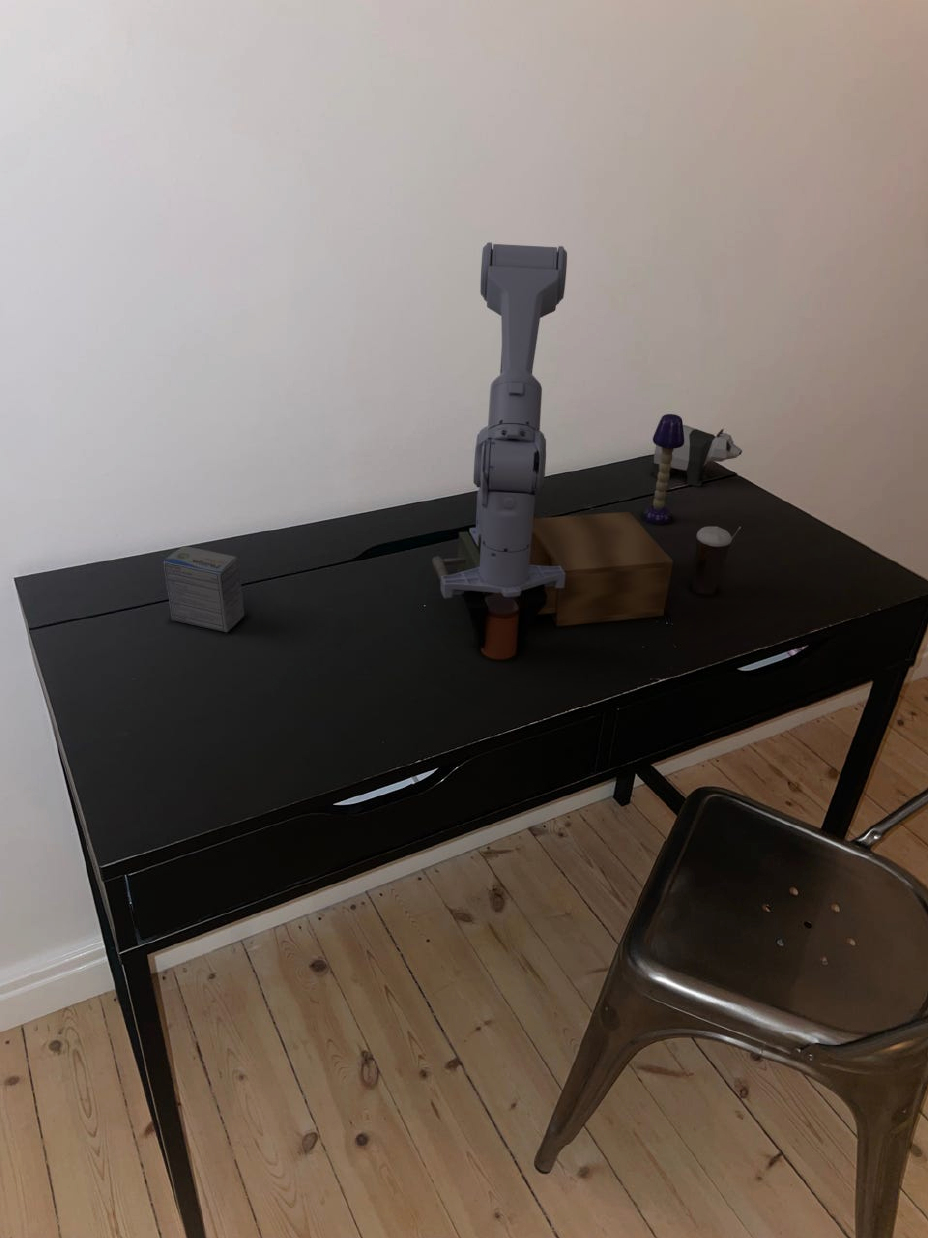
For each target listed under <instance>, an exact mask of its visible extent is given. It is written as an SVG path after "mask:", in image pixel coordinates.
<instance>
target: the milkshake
mask: <svg viewBox="0 0 928 1238" xmlns="http://www.w3.org/2000/svg"><path fill="white" fill-rule="evenodd" d="M741 528H742V525H741V526H740V525H739V527H738V528H737V530H736V531H735V533H734V534H732V535H731V534H730V533H729V532H728V531H727V530H726V529H723V528H721V527H720V526H716V525H715V526H704V527H701V528H700V529H699V530H698V531H697V533H696V537H695V549H694V551H695V552H694V560H693V561H694V562H693V569H692V580H691V589H692V592H694V593H695V594H698V595H701V596H710V595H711V596H712V595H715V593H716V592H717V589H718V587H719V586H718V585H719V582H720V579H721V575H722V572H723V569H724V565H725V562H726V560H727V559H726V558H727V555H728V552H729V550H730V547H731V543H732V540H733V539H734V537H735V536H736V535H737V533H738V532H739V531H740V529H741Z"/></svg>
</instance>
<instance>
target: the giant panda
mask: <svg viewBox="0 0 928 1238" xmlns="http://www.w3.org/2000/svg"><path fill="white" fill-rule="evenodd" d="M724 430H725V428H722V429H720V430H719V432H718V433H717V434H716V435H715V434H713V433H710V432H706V431H703V430H700V429H698V428H696V427H692V426H690V425H687V424H683V431H684V444H683V446H681V447H680V448H674V450H673V452H672V461H671V462H670V463H671V469H670V471H669V473H674V472H675V469H677V470H681V471H686V476H687V477H686V478H687V480H686V484H687V485H689V486H693V487H694V486H695V487H698V488H700V487H702V485H703V482H702V481H701V480H704V481H705V480H708V474H706V468H707V465H708V463H709V462H719V463H722V462H724V461H726V460H731V459H736V458H738V457H739V456H741V455H742V453H743V450H742V449H741V448H740V447H739V446H737V445H736V444H735V443H734V440H733V438H732V435H731V434H729V433H726V432H724ZM653 454H654V455H653V476H655V477H657V478H658V473H659V471H660V470H659V465H660V462H661V459H660V457H661V454H662V447H659V446H658V445H656V444H655V449H654V453H653Z"/></svg>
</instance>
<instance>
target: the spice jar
mask: <svg viewBox="0 0 928 1238" xmlns="http://www.w3.org/2000/svg"><path fill="white" fill-rule="evenodd" d="M485 601H486V603H487V605H488V607H489V609H488V612H487V617H486V623H485V644H484V648H480V651H481V653H482V654H483V655H484V656H486V657H487V658H489V659H493V660H508V659H510V658H513V657H514V656H515V655H516V654H517V652H518V630H519V617H520V612H521V602H520V601H519V600H518V599H517V598H515V597H505V596H503V594H494V595H490V596H488V597H486V598H485Z"/></svg>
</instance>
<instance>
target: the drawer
mask: <svg viewBox="0 0 928 1238" xmlns="http://www.w3.org/2000/svg"><path fill="white" fill-rule="evenodd" d="M457 548H458V551H457V557H455V558H442V557H441V556H438V555H437V556H434V557H432V559H431V563H432V566H433V569H434V571H435V573H436V575H437V577H438V579H439V583H441V576H446V575H450V573H449V571H448V568H447V566H450V565H457V572H456V573H460V572H463V571H467V570H470V569H473V568H477V567H480V550H481V534H479V536H478V547H477V545H476V543H475V541H474V539H473V538H472V536H471V534H470V532H469V530H468V531H467V530H466V531H459V532H458V547H457ZM529 565H538V566H556V565H555V564H554V562H553V561H552V559H551V558H550V556H549V555H548V553H547V552H546V550H545V549H544V547H543V546H542V544H541V543H540V541H539V540H538V538H537V537H536V535H535V534H534V532H533V531H532V540H531V551H530V563H529ZM545 592H546V594H547V602H546V605H545V606H544V607H543V608H542V609H541V610H540V612H539V613H538V614H537V616H538V615H539V616H540V615H547V614H549V613H556V611H557V602H558V592H559V588H555V587H554V586H546V587H545ZM483 594H484V596H485V598H486V597H488V596H490V595H494V594H502V593H491V592H483ZM515 598H516V596H515ZM549 615H550V614H549Z"/></svg>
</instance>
